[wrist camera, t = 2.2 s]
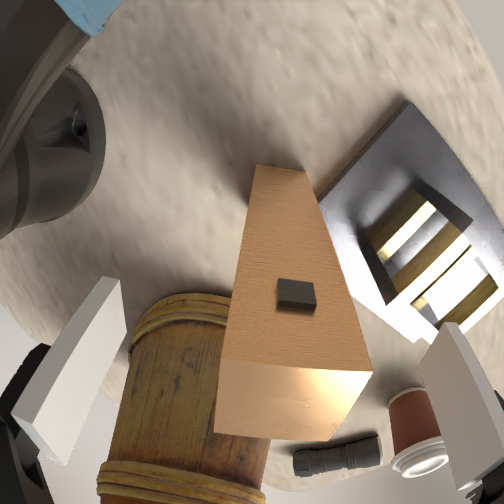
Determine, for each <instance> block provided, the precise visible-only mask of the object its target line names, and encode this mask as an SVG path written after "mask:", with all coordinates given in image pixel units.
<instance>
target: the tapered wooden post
mask: <svg viewBox="0 0 504 504" xmlns="http://www.w3.org/2000/svg"><path fill="white" fill-rule="evenodd" d="M372 373H373V370H372V366H371V363H370V359H369V355H368V352H367V348H366V345H365V341H364V338H363V335H362V331H361V328H360V324H359V321H358V318H357V315H356V311H355V308H354V305H353V302H352V299H351V296H350V292H349V289H348V286H347V283H346V280H345V277H344V274H343V271H342V268H341V265H340V262H339V259H338V257H337V254H336V251H335V248H334V245H333V242H332V240H331V237H330V234H329V231H328V228H327V226H326V223H325V220H324V218H323V215H322V212H321V210H320V207H319V204H318V202H317V199H316V197H315V194H314V191H313V189H312V186H311V184H310V181H309V179H308V176H307V174H306V172H304V171H299V170H293V169H287V168H280V167H274V166H267V165H261V164H256V169H255V174H254V179H253V185H252V190H251V195H250V200H249V206H248V211H247V216H246V222H245V227H244V232H243V238H242V243H241V249H240V254H239V259H238V265H237V270H236V276H235V281H234V287H233V292H232V298H231V303H230V309H229V315H228V320H227V326H226V331H225V337H224V343H223V348H222V354H221V361H220V371H219V381H218V391H217V401H216V411H215V422H214V432H216V433H222V434H230V435H238V436H246V437H256V438H267V439H280V440H298V441H329V439H330V438H331V437H332V435H333V434H334V432H335V431H336V429H337V428H338V427H339V425H340V424H341V422H342V421H343V419H344V418H345V416H346V415H347V413H348V412H349V410H350V409H351V407H352V405H353V404H354V402H355V401H356V399H357V398H358V396H359V394H360V393H361V391H362V390H363V388H364V386H365V385H366V383H367V381H368V380H369V378H370V376H371V375H372Z"/></svg>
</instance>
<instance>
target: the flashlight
mask: <svg viewBox="0 0 504 504" xmlns="http://www.w3.org/2000/svg"><path fill="white" fill-rule="evenodd" d="M381 464H383V453H382V446H381V441H380V437H379V436H377V437H372V438H368V439H363V440H361V441H358V442H356V443H352V444H350V443H349V444H346V445H345V447H342V449H340V448H333V449H327V450H325V449H323V450H319V451H317V450H313V451H311V450H309V449H308V450H300V451H298V452H297V453H294V454H293V468H294V473H295V476H300V477H309V476H312V475H313V474H319V473H320V472H321V473H323V472H327V471H333V470H340V469H342V467H344V468H347V467H348V470H350V469H354V468H355V469H356V468H367V467H372V466H376V465H381Z"/></svg>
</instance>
